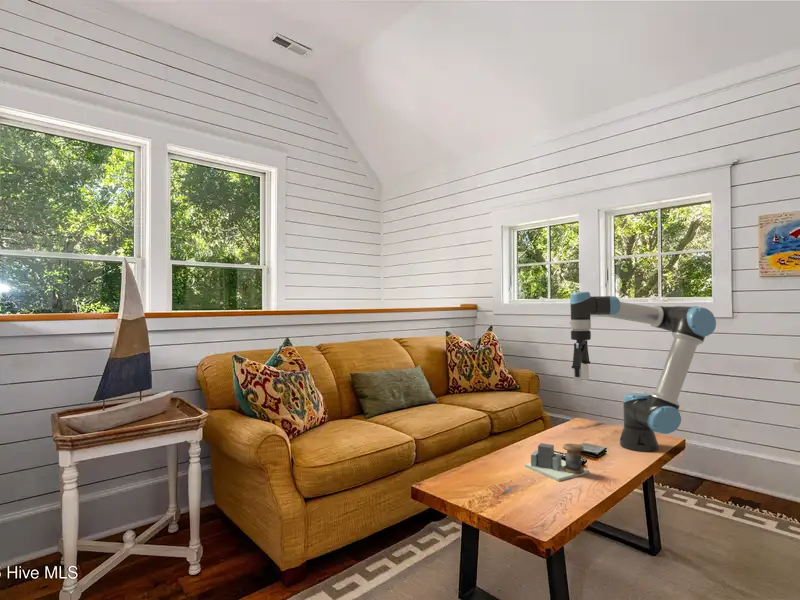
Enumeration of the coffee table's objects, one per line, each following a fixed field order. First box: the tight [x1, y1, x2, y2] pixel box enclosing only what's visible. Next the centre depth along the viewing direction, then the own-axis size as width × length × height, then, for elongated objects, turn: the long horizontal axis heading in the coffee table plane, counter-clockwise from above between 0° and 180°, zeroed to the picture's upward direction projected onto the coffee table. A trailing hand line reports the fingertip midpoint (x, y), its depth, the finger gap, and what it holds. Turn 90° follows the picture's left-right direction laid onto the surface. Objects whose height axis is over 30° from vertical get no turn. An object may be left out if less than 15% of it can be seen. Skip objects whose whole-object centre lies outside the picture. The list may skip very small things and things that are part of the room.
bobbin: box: [562, 443, 584, 474], centre depth 180 cm, size 7×7×9 cm
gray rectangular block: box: [537, 443, 555, 469], centre depth 185 cm, size 4×5×8 cm
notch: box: [530, 449, 562, 471], centre depth 185 cm, size 6×10×4 cm, turn 58°
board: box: [524, 459, 590, 482], centre depth 184 cm, size 16×18×1 cm
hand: (581, 382), depth 194 cm, fingers open, 13 cm apart
